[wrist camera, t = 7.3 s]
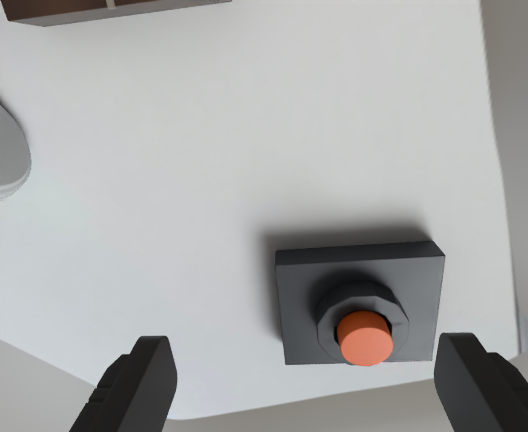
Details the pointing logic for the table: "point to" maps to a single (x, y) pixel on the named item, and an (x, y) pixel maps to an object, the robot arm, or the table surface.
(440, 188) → the table surface
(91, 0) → the handle panel
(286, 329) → the button block
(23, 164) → the headphones
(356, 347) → the button
